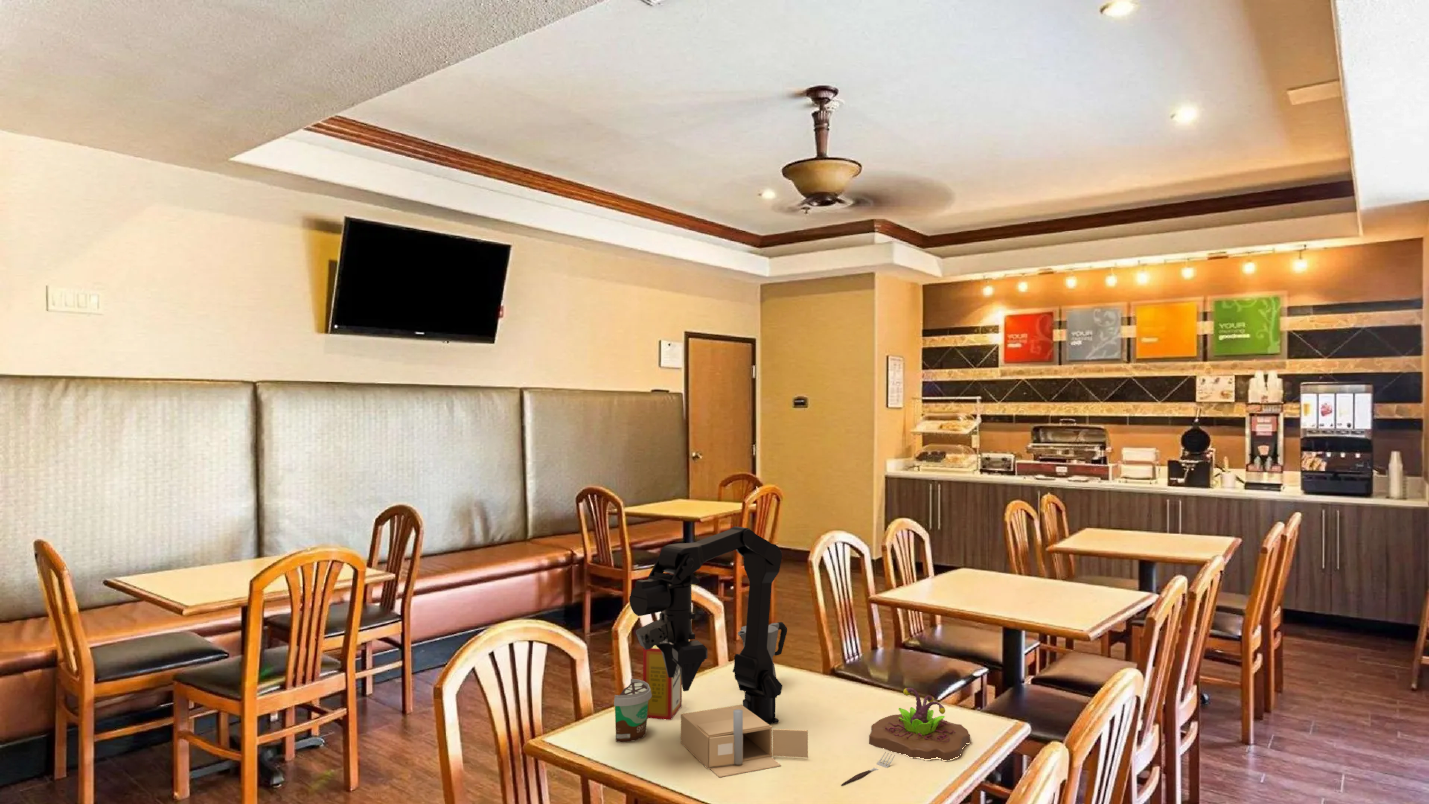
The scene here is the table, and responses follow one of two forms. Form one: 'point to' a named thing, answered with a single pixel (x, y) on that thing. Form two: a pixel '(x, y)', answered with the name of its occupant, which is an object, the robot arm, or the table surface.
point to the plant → (919, 732)
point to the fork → (869, 770)
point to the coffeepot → (771, 639)
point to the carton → (755, 739)
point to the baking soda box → (661, 686)
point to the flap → (728, 744)
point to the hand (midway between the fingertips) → (678, 684)
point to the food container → (632, 711)
